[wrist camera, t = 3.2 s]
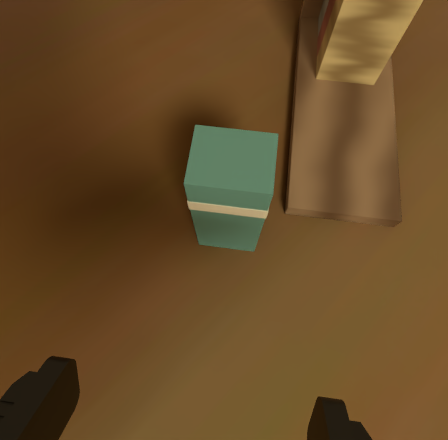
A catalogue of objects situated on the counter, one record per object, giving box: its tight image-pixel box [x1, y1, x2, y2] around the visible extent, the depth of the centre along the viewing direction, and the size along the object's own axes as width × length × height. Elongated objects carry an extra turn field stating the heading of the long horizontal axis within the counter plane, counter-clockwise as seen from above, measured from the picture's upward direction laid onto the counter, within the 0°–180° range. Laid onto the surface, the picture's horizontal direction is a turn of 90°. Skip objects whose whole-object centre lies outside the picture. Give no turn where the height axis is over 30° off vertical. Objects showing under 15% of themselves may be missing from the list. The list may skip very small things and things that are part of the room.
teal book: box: [184, 125, 278, 251], centre depth 24 cm, size 5×4×12 cm
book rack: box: [285, 0, 423, 227], centre depth 26 cm, size 10×26×18 cm, turn 172°
